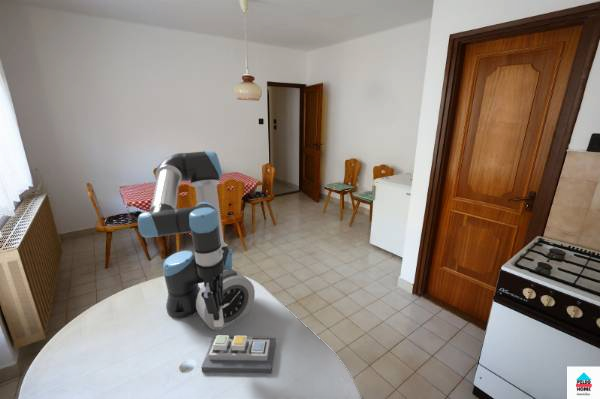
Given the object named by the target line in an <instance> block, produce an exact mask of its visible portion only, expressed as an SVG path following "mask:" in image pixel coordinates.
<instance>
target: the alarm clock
mask: <svg viewBox="0 0 600 399" xmlns="http://www.w3.org/2000/svg"><path fill="white" fill-rule="evenodd" d="M205 289H206V288H205V286H204V283H203V285H201V287H200V291H199V293H198V295H197V299H196V309H197V313H198V315H199V316H200V318H201V319H202V320H203V322H204V323H205V324H206V325H207V326H208V327H209V328H210V329H212V330H214V331H219V330H221V329H223V328H225V327H226V326H228V325H230V324H232V323H234V322H235V321H237V320H238V319H240V318H242V317H245V315H247V314H248V313H249V312H250V311H251V309H252V306H253V304H254V301H255V296H256V295H255V294H256V293H255V287H254V284H253V283H252V281H251V280H249V279H248V278H247V277H246V276H244V275H243V274H242V273H241V272H239V271H238V270H235V269H232V270H224V271H223V296H224V299H223V300H222V303H224V306H221V307H222V312H223V319H224V325H223V327H214V322H213V315H212V314H208V311H207V308H206V305H205V302H204V299H203V297H202V296H201V294H202V292H205Z"/></svg>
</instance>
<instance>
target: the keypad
mask: <svg viewBox="0 0 600 399" xmlns="http://www.w3.org/2000/svg"><path fill="white" fill-rule="evenodd" d="M216 337H217V336H214V337H213V338H212V340H211V342H210V345H209V348H208V350H207V352H206V356H204V357H205V358H204V359H203V361H202V365H201V373H233V374H234V373H235V374H236V373H238V374H242V373H243V374H272V371H273V366H274V365H273V364H274V358H275V351H276V345H277V338H276V337H253V336H247V343H246V347H245V350H232V342H233V339H234V337H233V336H229V343H228V346H227V349H226V350H214V348H213V344H214V342H215V339H216ZM253 342H265V351H264V354H252V353H251V349H252V344H253Z"/></svg>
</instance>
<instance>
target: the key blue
mask: <svg viewBox="0 0 600 399" xmlns="http://www.w3.org/2000/svg"><path fill="white" fill-rule="evenodd" d="M264 351H265V342H253V344H252V349H251V353H252V354H264Z"/></svg>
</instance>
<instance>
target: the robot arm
mask: <svg viewBox="0 0 600 399" xmlns="http://www.w3.org/2000/svg"><path fill="white" fill-rule="evenodd" d="M154 178H155V180H156V182H155V185H154V186H155V187H154V191H153V194H152V199H151V205H150V208H149V211H146V212H142V213H140V214H139V215H138V217H137V227H138V231H139V234H140V235H141V237H142V238H155V237H156V238H158V237H164V236H171V235H176V234H185V233H190V234H191V238H192V245H193V251H194V253H193V251H191V250H181V251H178V252H175V253H173V254H171V255H170V256H167V258H166V259H165V260H164V261H163V264H162V268H163V269H162V271H163V272H162V273H163V276H164V280H165V285H166V288H167V294H168V295H167V299H166V305H165V308H166V312H167V314H168V316H170V317H171V316H172V317H171V318H174V317H175V318H176V319H183V318H189V317H190V316H191V317H192V316H193V315H196V314H197V313H198V312H197V309H196V299H197V295H198V293H199V291H200V289H201V287H200V285H199V284H202V283H203V284H204V286H205V288H206V289H205V292H202V294H201V296H202V297H203V299H204V302H205V305H206V308H207V311H208V314H212V315H213V322H214V327H223V325H224V319H223V312H222V307H221V306H224V303H222V300H223V299H224V296H223V271H224V270H233V250H232V249H233V248H229V245H228V244H227V243H226V242H225V241H224V234H223V227H222V219H221V217H222V216H221V210H220V203H219V195H218V185H219V184H220V179H222V178H223V172H222V168H221V163H220V160H219V157H218V155H217V153H216V152H215V151H212V150H211V151H206V150H204V151H194V152H180V153H179V152H178V153H175V154H172V155H170V156H168V157H166V158H165V159H164V160H162V161H161V163H159V165H158V166H157V167H156V170H155V173H154ZM181 182H190V185H191V186H192V187H194V189H195V195H196V202H197V203H196V205H195V206H190V207H188V206H187V207H182V208H177V206H178V205H177V204H178V194H179V185H180V184H181ZM223 328H224V327H223Z"/></svg>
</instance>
